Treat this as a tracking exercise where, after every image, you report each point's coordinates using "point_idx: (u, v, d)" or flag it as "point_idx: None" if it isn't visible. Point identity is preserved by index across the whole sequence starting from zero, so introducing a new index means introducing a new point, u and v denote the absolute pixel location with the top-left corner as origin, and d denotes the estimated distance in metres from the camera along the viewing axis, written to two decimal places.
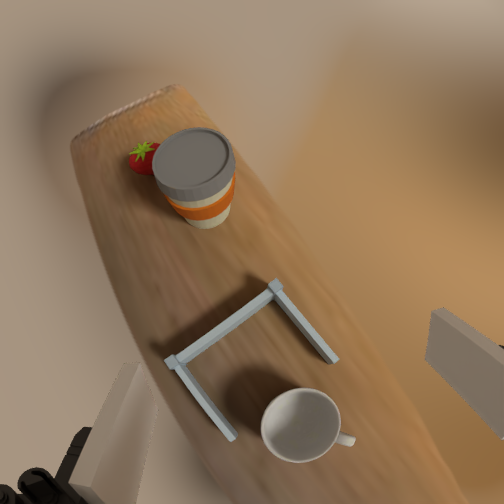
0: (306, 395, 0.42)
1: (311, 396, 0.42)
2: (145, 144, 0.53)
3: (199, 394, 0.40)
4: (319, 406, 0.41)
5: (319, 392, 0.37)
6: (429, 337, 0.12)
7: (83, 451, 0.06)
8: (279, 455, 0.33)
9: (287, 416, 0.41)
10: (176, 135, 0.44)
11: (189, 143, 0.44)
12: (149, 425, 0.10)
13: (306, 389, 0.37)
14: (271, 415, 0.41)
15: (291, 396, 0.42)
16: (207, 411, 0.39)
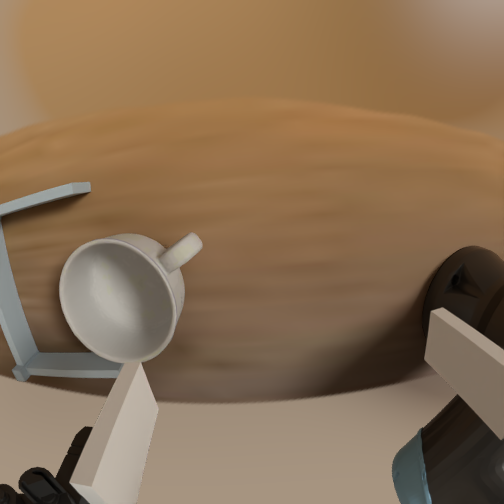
0: (106, 250, 0.27)
1: (109, 245, 0.27)
2: None
3: (57, 370, 0.27)
4: None
5: (77, 251, 0.21)
6: (428, 337, 0.12)
7: (84, 451, 0.06)
8: (144, 357, 0.23)
9: (126, 288, 0.29)
10: None
11: None
12: (150, 425, 0.11)
13: (66, 266, 0.22)
14: (114, 307, 0.29)
15: (99, 269, 0.28)
16: (77, 375, 0.28)
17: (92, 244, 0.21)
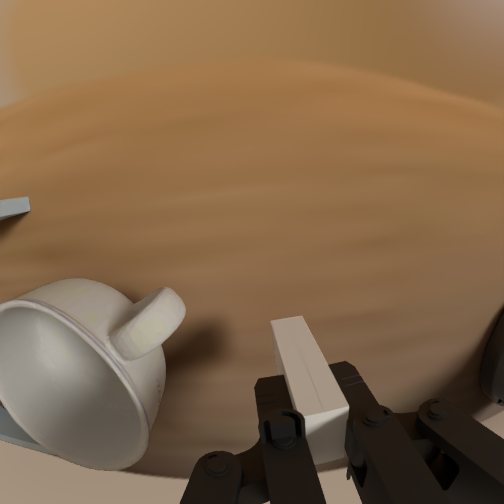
0: None
1: None
2: None
3: (17, 439, 0.17)
4: None
5: None
6: None
7: (293, 389, 0.09)
8: (110, 465, 0.12)
9: (86, 351, 0.18)
10: None
11: None
12: None
13: None
14: (72, 375, 0.18)
15: (47, 324, 0.17)
16: (40, 449, 0.17)
17: (8, 307, 0.11)
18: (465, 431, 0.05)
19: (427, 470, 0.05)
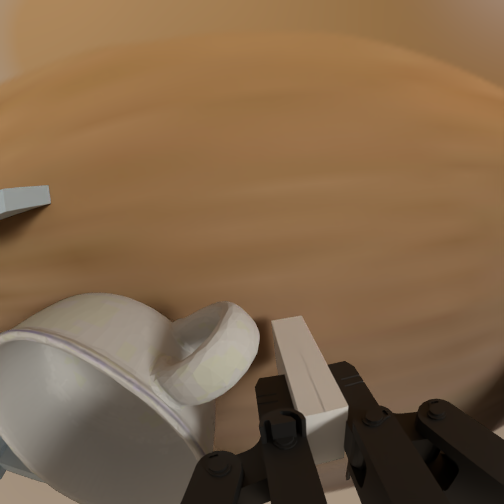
0: None
1: None
2: None
3: None
4: None
5: None
6: None
7: (293, 389, 0.09)
8: None
9: (108, 379, 0.15)
10: None
11: None
12: None
13: None
14: (92, 406, 0.15)
15: (57, 349, 0.14)
16: None
17: (7, 340, 0.07)
18: (464, 431, 0.05)
19: (426, 470, 0.05)
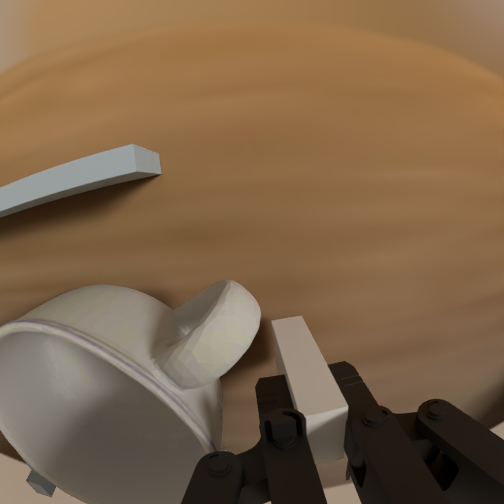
0: None
1: None
2: None
3: None
4: None
5: None
6: None
7: (294, 389, 0.09)
8: None
9: (112, 375, 0.15)
10: None
11: None
12: None
13: None
14: (99, 404, 0.15)
15: (60, 347, 0.14)
16: None
17: (5, 333, 0.07)
18: (464, 431, 0.05)
19: (426, 470, 0.05)
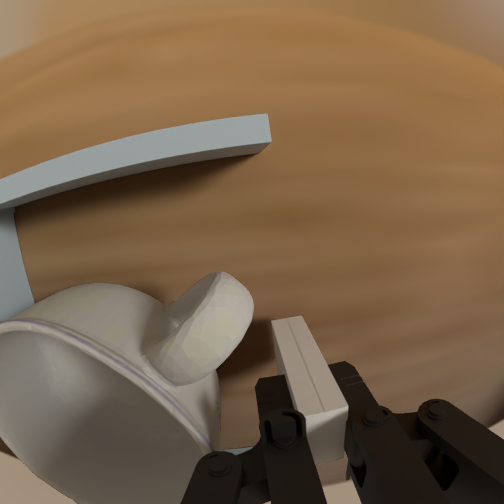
0: None
1: None
2: None
3: None
4: None
5: None
6: None
7: (293, 389, 0.09)
8: None
9: (110, 375, 0.15)
10: None
11: None
12: None
13: None
14: (97, 406, 0.15)
15: (57, 349, 0.13)
16: None
17: None
18: (464, 431, 0.05)
19: (426, 470, 0.05)
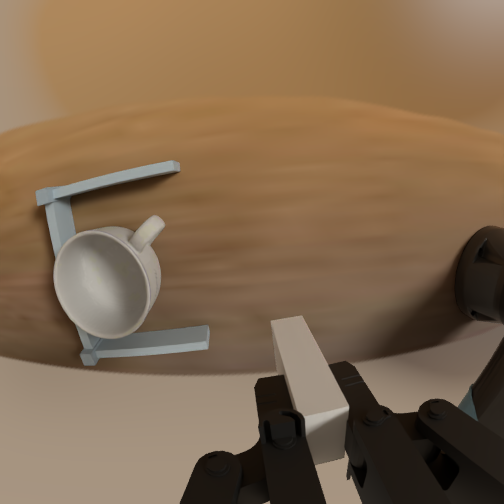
0: (91, 245, 0.31)
1: (93, 240, 0.30)
2: None
3: (134, 349, 0.32)
4: None
5: (64, 246, 0.25)
6: None
7: (292, 389, 0.09)
8: (129, 330, 0.27)
9: (113, 276, 0.33)
10: None
11: None
12: None
13: (57, 260, 0.25)
14: (105, 294, 0.33)
15: (88, 263, 0.31)
16: (158, 352, 0.32)
17: (75, 238, 0.25)
18: (465, 431, 0.05)
19: (427, 470, 0.05)
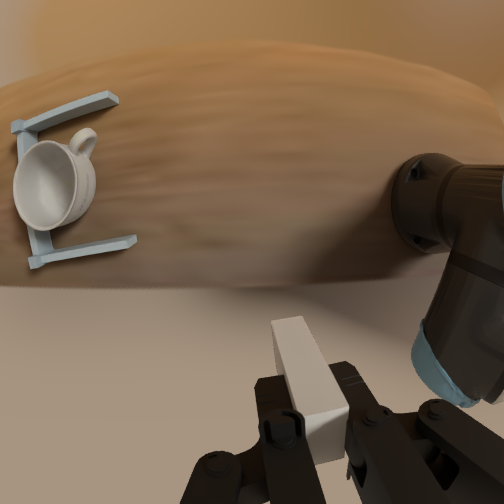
0: (48, 165, 0.34)
1: (49, 160, 0.33)
2: None
3: (70, 251, 0.34)
4: (63, 155, 0.34)
5: (23, 156, 0.28)
6: None
7: (293, 389, 0.09)
8: (60, 220, 0.30)
9: (62, 191, 0.35)
10: None
11: None
12: None
13: (17, 168, 0.28)
14: (54, 207, 0.35)
15: (44, 181, 0.34)
16: (88, 253, 0.35)
17: (31, 148, 0.28)
18: (465, 431, 0.05)
19: (427, 470, 0.05)
